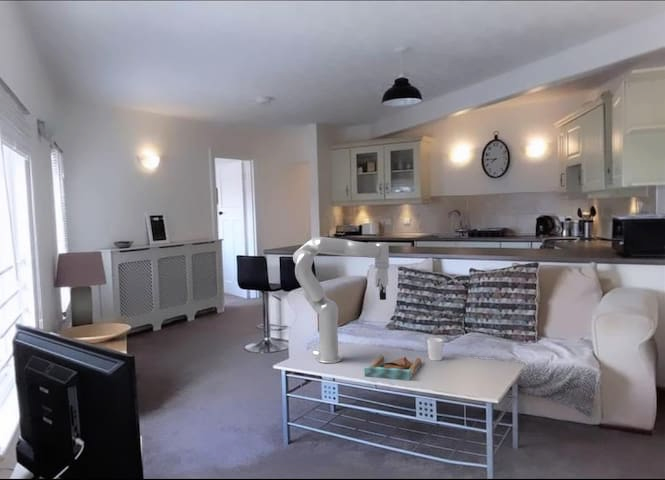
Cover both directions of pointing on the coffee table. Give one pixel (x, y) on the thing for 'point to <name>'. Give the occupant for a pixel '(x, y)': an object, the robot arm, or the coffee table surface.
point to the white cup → (435, 348)
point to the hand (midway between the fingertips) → (382, 299)
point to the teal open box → (390, 370)
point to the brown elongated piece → (398, 364)
